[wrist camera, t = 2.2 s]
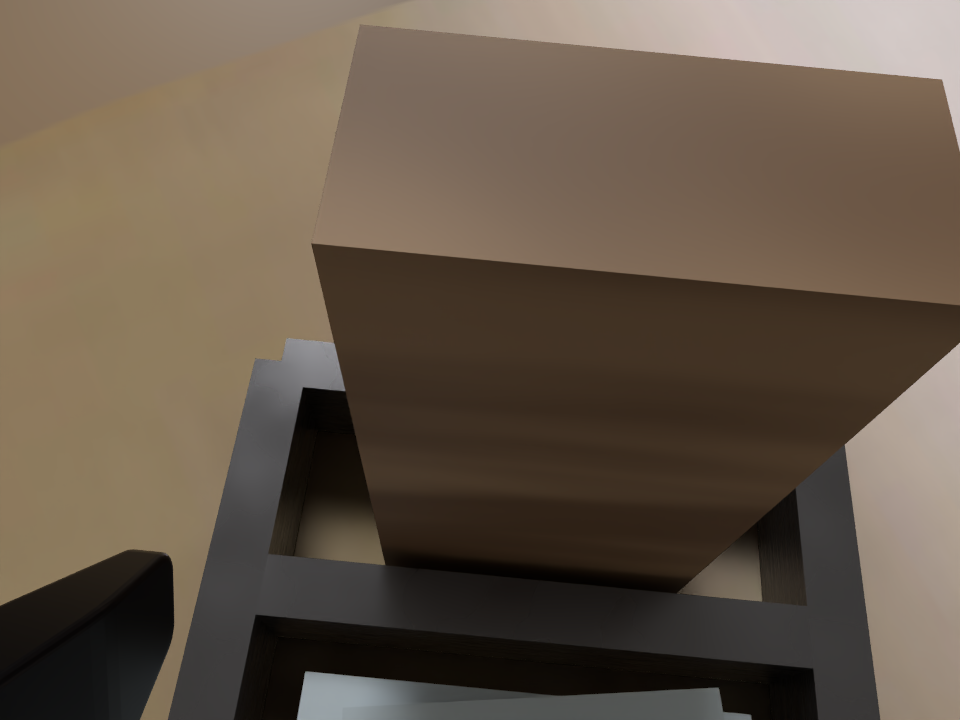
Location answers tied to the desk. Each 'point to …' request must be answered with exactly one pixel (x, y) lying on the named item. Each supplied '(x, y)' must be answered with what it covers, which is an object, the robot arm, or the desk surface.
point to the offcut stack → (493, 702)
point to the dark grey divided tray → (506, 586)
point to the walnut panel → (621, 292)
